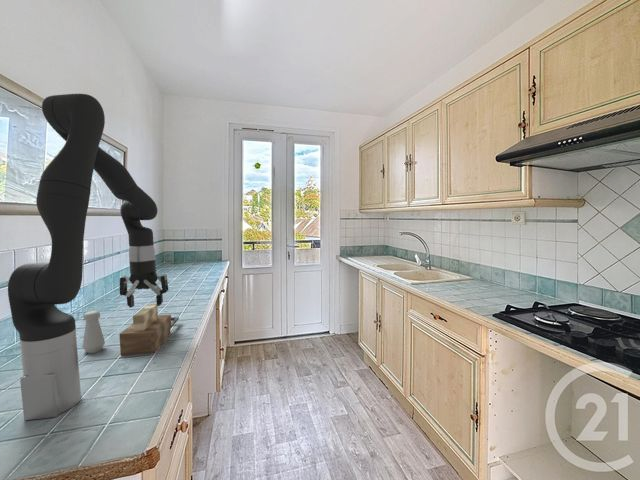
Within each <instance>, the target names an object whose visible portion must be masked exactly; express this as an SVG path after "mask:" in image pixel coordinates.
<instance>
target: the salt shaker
mask: <svg viewBox="0 0 640 480" xmlns="http://www.w3.org/2000/svg"><path fill="white" fill-rule="evenodd" d="M100 318H101V313H100V311H99V310H90V311H87V312H85V313H84V314H83V320H84V321H85V327H84V333H83V334H84V335H83V340H82V348H83V350H84V352H85V353H86V354H94V353H99V352H100V351H102V350H103V348H104V347H105V346H104V345H105V341H106V340H105V338H104V334H103V331H102V328H101V324H100V320H99V319H100Z"/></svg>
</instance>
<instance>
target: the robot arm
mask: <svg viewBox="0 0 640 480" xmlns="http://www.w3.org/2000/svg"><path fill="white" fill-rule="evenodd" d="M41 110H42V115H43V117H44V118H45V120H46V122H47V123H48V124H49V126H50V127H51V128H52V129H53V130H54V132H56V133H57V134H58V135H59V136H60V137H61V138H62V139H63V140H64V141H65V143H64V145H63V146H62V148H61V150H60V151H59V152H58V153H57V154H56V155H55V156H54V158H52V160H51V161H50V162H49V164H48V165H47V166H46V167H45V169H44V170H43V171H42V173H41V176H40V178H39V179H40V180H39V183H38V189H37V194H36V202H35V203H36V207H37V210H38V212H39V216H40V217H41V219H42V221H43V223H44V224H45V226H46V228H47V230H48V232H49V235H50V240H51V250H50V251H51V252H50V258H49V262H30V263H25V264H22V265H20V266H18V267H17V268H16V269H14V270H13V272H12V273H11V274H10V277H9V279H8V285H7V296H8V302H9V308H10V313H11V314H10V315H11V319H12V324H13V327H14V328H15V330H16V331H17V332H18V334H19V341H20V357H21V365H22V375H23V376H21V377H20V379H19V380H20V393H21V401H22V402H21V403H22V411H23V420H24V421H30V420H39V419H47V418H56V417H58V416H59V415H61V414H62V413H64V412H66V411H68V410H70V409H72V408H73V407H74V406H76V405H77V404H79V402H80V401H81V399H82V391H81V390H82V389H81V378H80V367H79V356H78V355H79V354H78V353H79V351H78V344H77V343H78V341H77V329H76V327H77V325H76V318H75V316H73V315H71V314H68V312H67V313H66V312H64V311H62V310H60V309H59V308H58V307H57V306H56V305H63V304H65V305H66V304H68V303H70V302H72V301H73V300H74V299H76V298H77V296H78V294H79V292H80V290H81V286H82V281H83V273H84V272H83V268H84V265H83V264H84V261H83V260H84V238H85V227H86V223H87V222H86V221H87V216H88V215H87V214H88V209H89V203H90V198H91V197H90V196H91V191H92V179H93V174H94V172H96V174H97V175H98V176H99V177H100V178H101V180H102V181H103V182H104V184H105V185H106V187H107V188H108V189H109V191H111V193H112V194H113V196H114V197H115V198H116V199H117V200H120V201H123V202H122V203H121V205H120V210H119V211H120V215H121V219H122V221H123V225H124V227H125V229H126V231H127V234H128V259H129V260H128V263H129V275H130V276H127V275H123V276H122V277H120V278H119V295H120V296H125V297H126V305H127V306H128V307H129V308H133V307H134V306H135V295H134V293H135V292H136V291H137V290H143V289H144V290H149V289H150V290H151V291H153V292H154V293H155V294H156V295H155V300H156V304H157V307H160V306H161V305H162V304H163V302H164V297H163V296H164V295H163V294H166V293H167V292H169V282H168V276H167V274H162V275H157V266H156V265H157V264H156V249H155V245H154V232H153V229H151V228H149V227H146V226H143V224H142V222H141V221H151V220H154V219H155V218H156V217H157V215H158V206H157V203H156V201H154V199H153V198H152V197H151V196H150V195H149V194H148V193H146V192H145V190H143V189H142V188H141V187H140V186H138V184H137V183H136V181H135V179H134V178H133V176H132V175H131V174H130V173H131V172H129V170H128V169H127V168H126V167H125V166H124V165H123V163H121V162H120V161H118V159H116V158H115V157H114V156H112V155H110V154H109V153H107V152H106V151H105V150H104V149H103V148H101V147H100V144H101V140H102V137H103V134H104V129H105V123H106V116H105V112H104V108H103V107H102V104H101V103H100V101H99V100H98V99H97V98H95V97H94V96H92V95H90V94H87V93H66V94H65V93H64V94H54V95H50V96H46V97H45V98H44V99H43V101H42V104H41ZM157 280H159V282H160V284H161V285H159V284H158V283H157ZM129 282H130V283H131V284H132V286H130V288H129V289H128V283H129ZM160 286H161V287H160Z"/></svg>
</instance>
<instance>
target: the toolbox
mask: <svg viewBox="0 0 640 480" xmlns="http://www.w3.org/2000/svg"><path fill="white" fill-rule="evenodd" d="M171 331H172V330H171V329H170V319H169V320H168V321H167V322H166V323H165V324H164V325H163V326H162V327H161V328H160V329H159V330H158V331H157V332H156V333H155V334H153V335H140V336H126V337H120V336H119V349H120V351H119V352H120V356H129V355H131V356H132V355H143V354H144V355H145V354H154V353H156V352H157V351H158V350H159V348H161V346H162V345H163V344H164V343H165V341H166V340H167V339H168V338H169V337H170V336H171Z"/></svg>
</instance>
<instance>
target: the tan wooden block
mask: <svg viewBox="0 0 640 480" xmlns="http://www.w3.org/2000/svg"><path fill="white" fill-rule="evenodd" d="M169 319H170V330H171V329H172V328H173V327H174V326H175V324H177V322H178V321H179V319H180V316H173V317H172V314H163V315H162V314H161V315H160V314H159V313H158V306H157V303H156V304H155V303H154V304H148V305H146V306H145V307H143V308H141V310H139V311H138V312H136V313H135V314H133V315H132V323H131V324H130V325H129V326H127V328H125V329H123V330H122V331H121V332H119V335H118V336H119V338H120V337H126V336H140V335H153V334H155V333H156V332H157V331H158V330H159V329H160V328H161V327H162V326H163V325H164V324H165V323H166V322H167V321H168V320H169Z"/></svg>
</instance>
